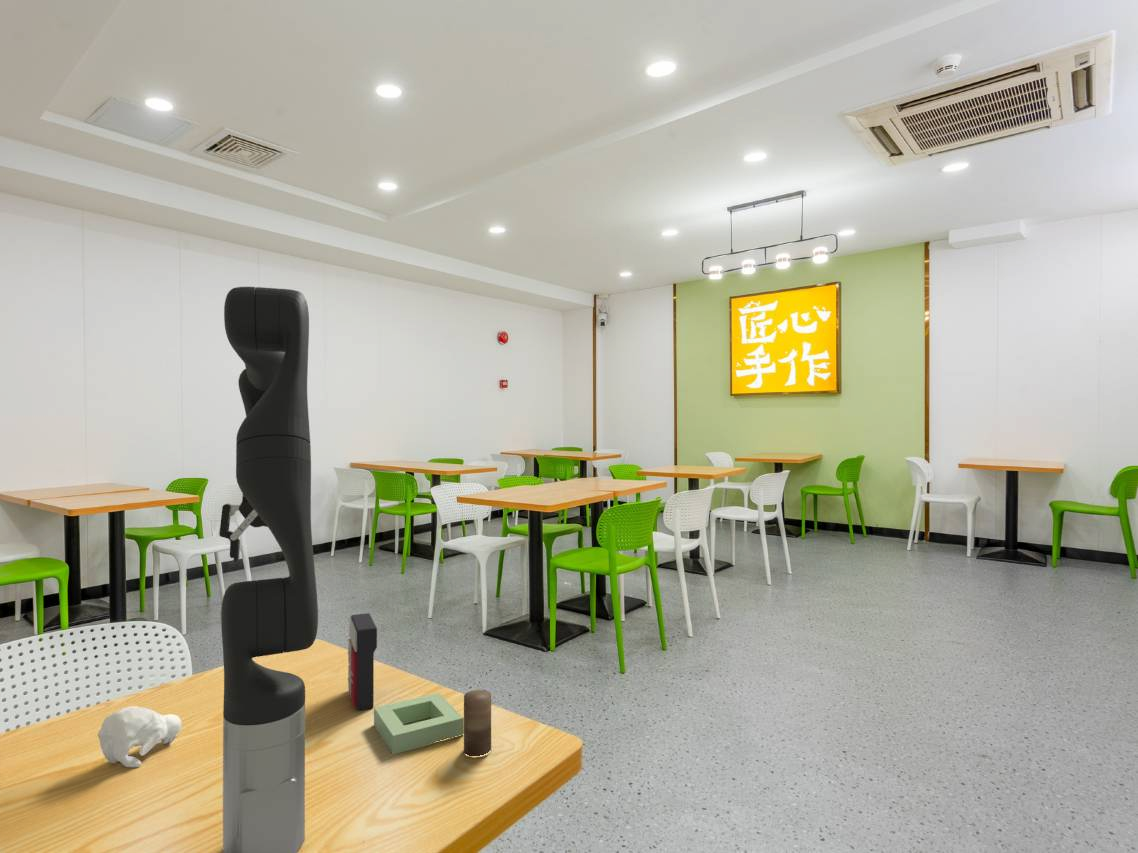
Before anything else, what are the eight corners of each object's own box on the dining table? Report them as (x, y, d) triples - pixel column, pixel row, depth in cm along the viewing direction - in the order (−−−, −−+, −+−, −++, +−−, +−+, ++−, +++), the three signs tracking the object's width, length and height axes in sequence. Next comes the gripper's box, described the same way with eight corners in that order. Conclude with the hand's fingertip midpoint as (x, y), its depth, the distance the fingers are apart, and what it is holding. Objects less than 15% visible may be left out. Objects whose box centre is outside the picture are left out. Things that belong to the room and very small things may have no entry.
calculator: (346, 689, 126) (347, 615, 126) (369, 686, 128) (369, 612, 128) (352, 712, 116) (353, 630, 116) (376, 707, 118) (377, 627, 118)
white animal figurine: (95, 711, 97) (168, 688, 108) (89, 769, 96) (163, 740, 107) (123, 717, 95) (195, 694, 106) (117, 777, 94) (190, 746, 105)
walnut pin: (495, 753, 101) (495, 697, 101) (470, 760, 99) (470, 703, 99) (484, 741, 105) (484, 687, 105) (459, 748, 103) (459, 693, 103)
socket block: (463, 735, 107) (463, 717, 107) (393, 754, 101) (393, 735, 101) (439, 708, 117) (439, 692, 117) (374, 724, 111) (374, 707, 111)
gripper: (220, 472, 112) (215, 564, 111) (306, 473, 117) (303, 560, 116) (226, 472, 119) (221, 558, 118) (307, 472, 124) (304, 555, 123)
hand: (262, 559), depth 117 cm, fingers open, 8 cm apart
